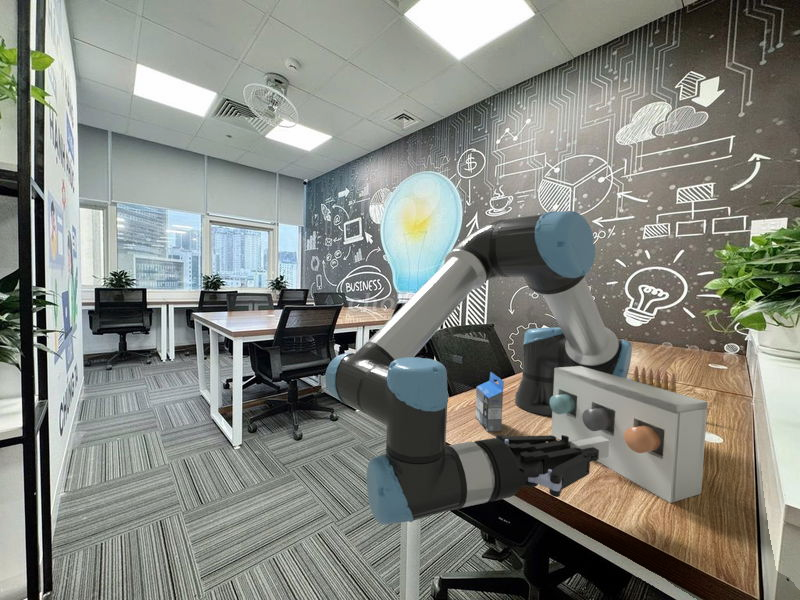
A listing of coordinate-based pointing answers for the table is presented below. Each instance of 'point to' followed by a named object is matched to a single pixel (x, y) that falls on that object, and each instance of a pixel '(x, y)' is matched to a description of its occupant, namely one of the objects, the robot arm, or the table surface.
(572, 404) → the teal button
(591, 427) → the charcoal button
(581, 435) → the console
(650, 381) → the ammunition clip
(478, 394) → the label tape cartridge
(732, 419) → the table surface
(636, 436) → the terracotta button
